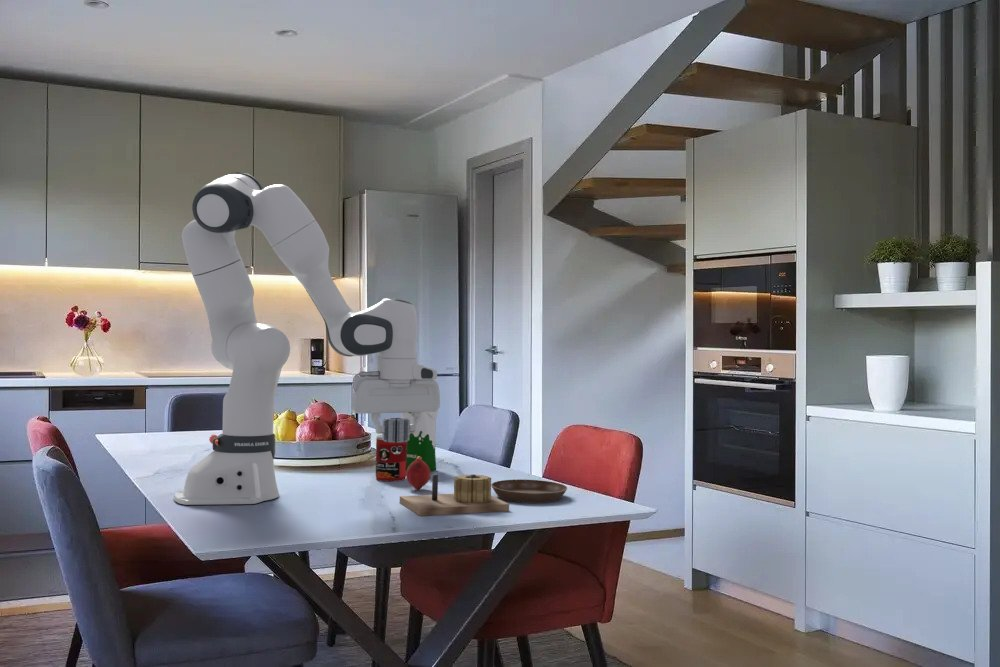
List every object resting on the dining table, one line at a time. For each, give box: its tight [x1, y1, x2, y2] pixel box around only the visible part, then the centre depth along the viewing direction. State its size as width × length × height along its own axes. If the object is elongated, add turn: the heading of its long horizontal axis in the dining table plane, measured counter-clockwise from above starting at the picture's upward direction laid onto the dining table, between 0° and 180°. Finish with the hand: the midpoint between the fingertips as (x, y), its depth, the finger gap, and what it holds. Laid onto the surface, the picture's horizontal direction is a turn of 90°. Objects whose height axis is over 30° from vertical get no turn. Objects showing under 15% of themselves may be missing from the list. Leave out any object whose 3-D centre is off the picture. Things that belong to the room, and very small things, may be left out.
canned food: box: [375, 434, 407, 482], centre depth 246 cm, size 8×8×11 cm
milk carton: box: [400, 409, 439, 472], centre depth 261 cm, size 9×9×20 cm
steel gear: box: [382, 417, 410, 443], centre depth 216 cm, size 6×6×5 cm
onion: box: [406, 456, 432, 491], centre depth 231 cm, size 6×6×8 cm
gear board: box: [399, 473, 510, 517], centre depth 210 cm, size 20×15×7 cm
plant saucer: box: [491, 478, 568, 504], centre depth 224 cm, size 18×18×3 cm
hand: (395, 432), depth 216 cm, fingers closed on steel gear, 6 cm apart
